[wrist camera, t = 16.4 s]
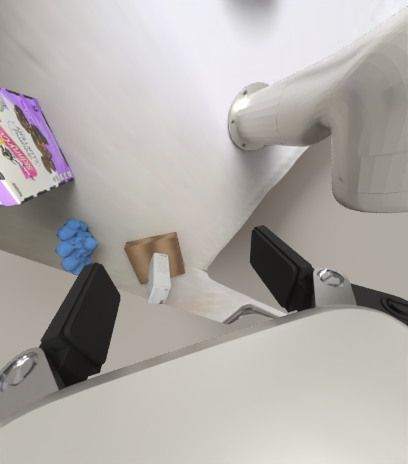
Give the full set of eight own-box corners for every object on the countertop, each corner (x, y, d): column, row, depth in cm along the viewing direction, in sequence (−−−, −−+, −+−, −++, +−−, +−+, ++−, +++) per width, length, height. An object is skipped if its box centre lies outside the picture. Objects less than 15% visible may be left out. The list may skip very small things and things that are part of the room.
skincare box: (153, 251, 45) (151, 285, 35) (169, 254, 47) (171, 287, 36) (148, 268, 47) (145, 304, 37) (163, 270, 49) (164, 304, 39)
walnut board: (175, 231, 47) (176, 237, 44) (184, 266, 54) (185, 273, 52) (126, 242, 45) (124, 248, 42) (141, 277, 52) (140, 284, 50)
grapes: (112, 248, 45) (99, 280, 35) (85, 252, 44) (64, 287, 34) (96, 209, 39) (75, 235, 29) (65, 213, 38) (31, 241, 28)
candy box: (76, 179, 35) (22, 206, 21) (45, 183, 34) (-33, 214, 20) (36, 97, 28) (-86, 57, 14) (-4, 99, 27) (-179, 58, 13)
